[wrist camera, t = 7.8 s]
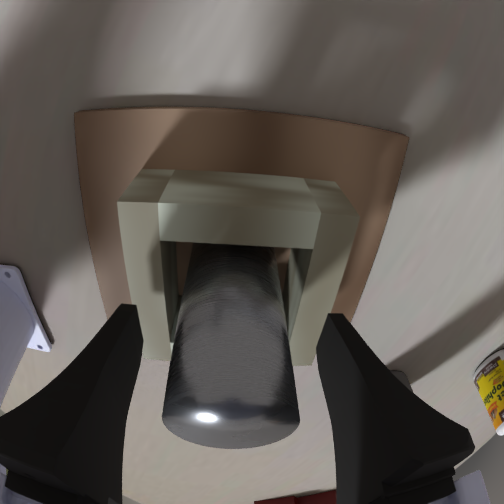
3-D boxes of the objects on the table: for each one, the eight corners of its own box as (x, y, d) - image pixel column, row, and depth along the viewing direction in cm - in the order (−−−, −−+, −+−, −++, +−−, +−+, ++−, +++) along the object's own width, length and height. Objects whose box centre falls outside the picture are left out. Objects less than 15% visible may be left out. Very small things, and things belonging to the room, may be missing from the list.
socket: (115, 331, 20) (100, 379, 16) (79, 110, 12) (33, 132, 9) (337, 341, 21) (351, 389, 18) (403, 134, 13) (449, 161, 10)
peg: (196, 284, 17) (176, 446, 9) (188, 216, 15) (146, 389, 7) (272, 282, 17) (292, 446, 10) (275, 214, 15) (308, 389, 7)
